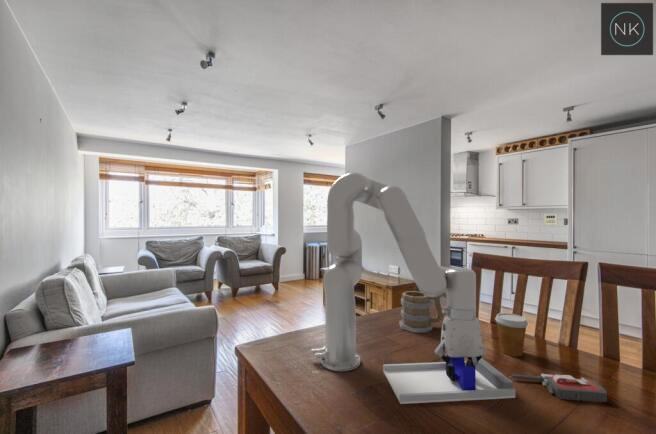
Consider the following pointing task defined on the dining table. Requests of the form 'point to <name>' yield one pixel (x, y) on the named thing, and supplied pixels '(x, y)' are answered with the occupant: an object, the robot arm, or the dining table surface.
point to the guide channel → (444, 383)
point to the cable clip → (464, 374)
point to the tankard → (419, 312)
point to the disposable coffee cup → (511, 333)
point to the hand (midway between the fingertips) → (460, 377)
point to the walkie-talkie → (570, 387)
